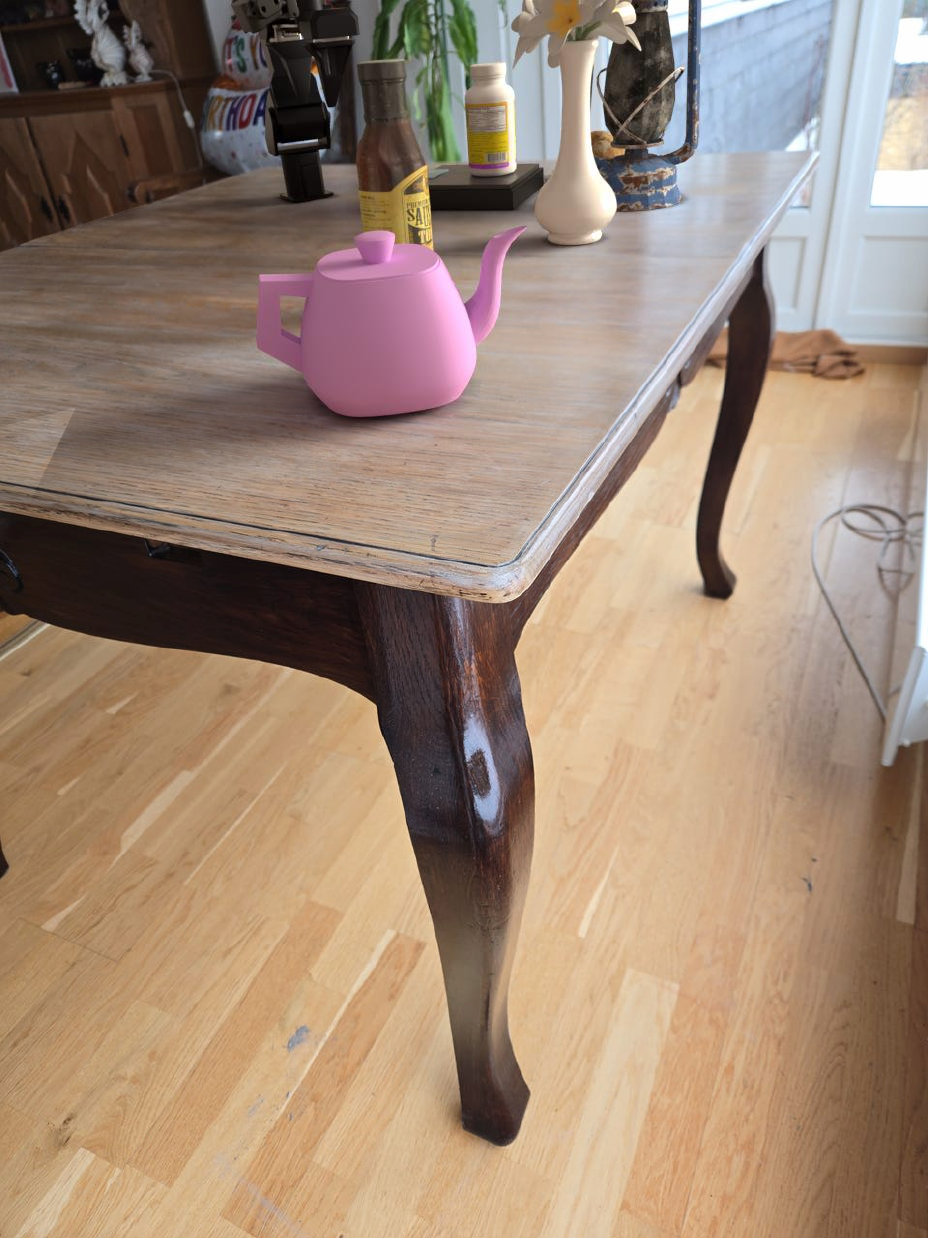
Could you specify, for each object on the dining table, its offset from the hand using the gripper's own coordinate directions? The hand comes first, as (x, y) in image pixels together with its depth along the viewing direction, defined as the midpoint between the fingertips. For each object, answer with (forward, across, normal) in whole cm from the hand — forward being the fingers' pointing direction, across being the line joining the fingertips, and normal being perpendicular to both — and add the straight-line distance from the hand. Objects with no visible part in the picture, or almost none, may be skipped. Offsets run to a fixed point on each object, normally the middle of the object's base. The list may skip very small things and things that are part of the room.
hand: (317, 104), depth 112 cm
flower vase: (+13, +36, +14) cm, 41 cm away
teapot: (+13, +64, -23) cm, 69 cm away
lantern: (+13, +26, +32) cm, 43 cm away
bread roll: (+13, +10, +38) cm, 41 cm away
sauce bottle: (+13, +46, -13) cm, 50 cm away
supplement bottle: (+10, +9, +21) cm, 25 cm away
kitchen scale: (+13, +7, +19) cm, 24 cm away
